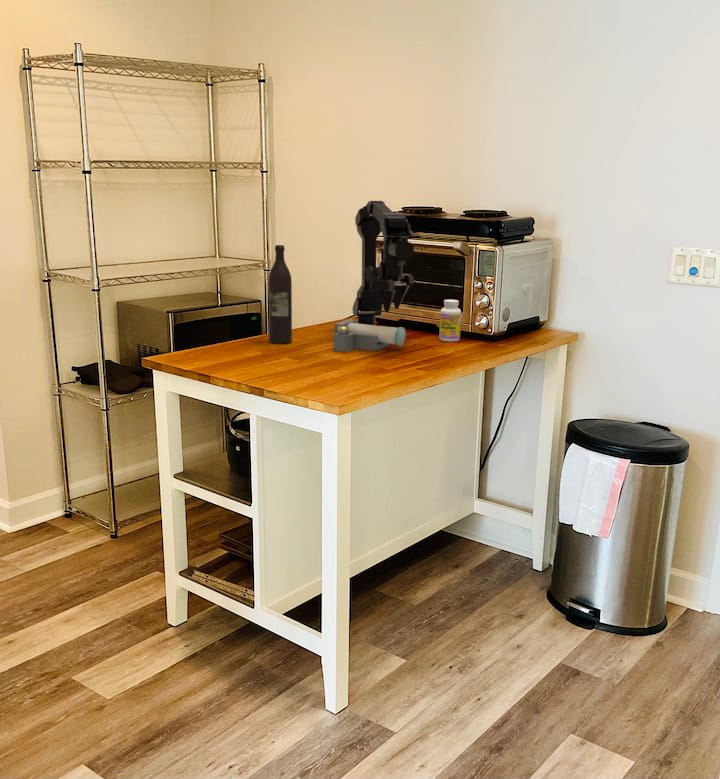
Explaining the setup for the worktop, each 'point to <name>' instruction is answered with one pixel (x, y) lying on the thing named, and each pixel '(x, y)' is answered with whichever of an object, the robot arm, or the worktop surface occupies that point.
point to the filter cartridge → (380, 333)
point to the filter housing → (355, 340)
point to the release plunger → (343, 330)
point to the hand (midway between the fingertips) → (391, 310)
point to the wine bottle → (280, 300)
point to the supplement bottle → (450, 321)
